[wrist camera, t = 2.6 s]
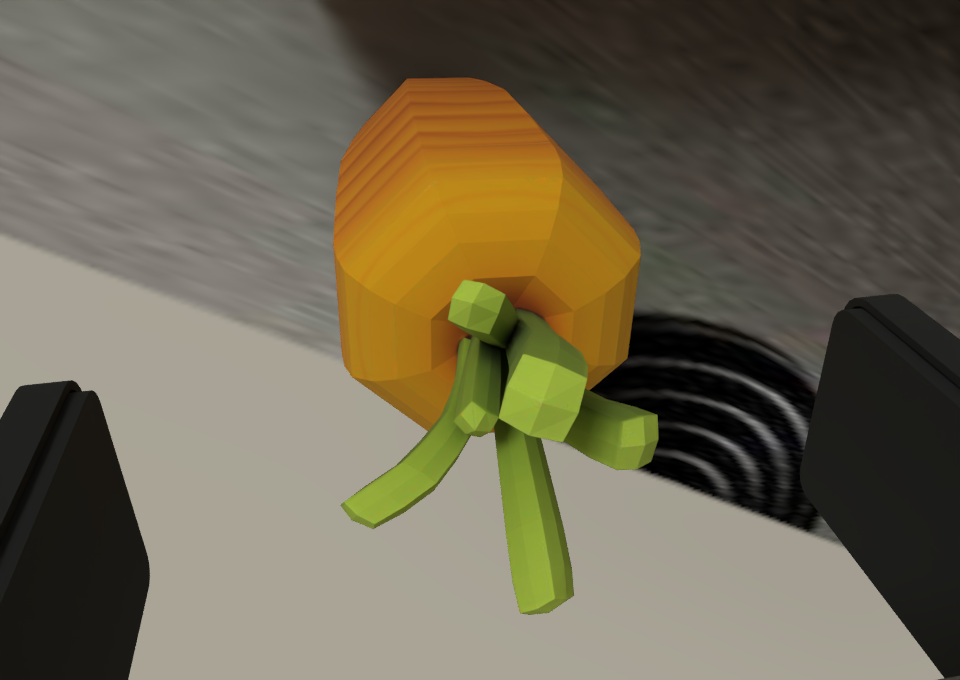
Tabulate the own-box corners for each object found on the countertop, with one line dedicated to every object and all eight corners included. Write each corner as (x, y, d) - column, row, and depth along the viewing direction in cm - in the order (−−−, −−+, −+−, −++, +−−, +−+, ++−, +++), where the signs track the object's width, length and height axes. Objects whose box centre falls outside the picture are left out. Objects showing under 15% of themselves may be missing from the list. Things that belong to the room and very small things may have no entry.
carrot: (475, 226, 23) (647, 700, 11) (301, 166, 22) (259, 640, 9) (552, 56, 21) (881, 392, 9) (366, -25, 20) (430, 244, 7)
